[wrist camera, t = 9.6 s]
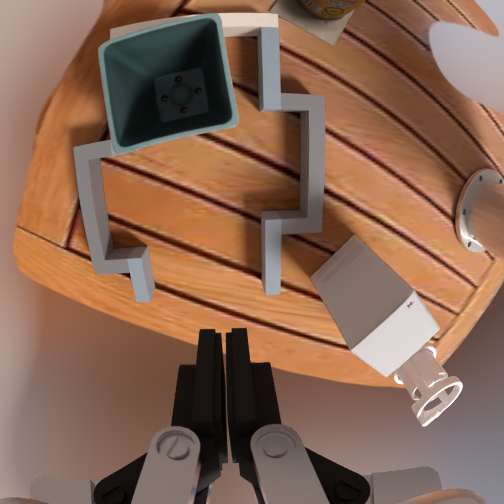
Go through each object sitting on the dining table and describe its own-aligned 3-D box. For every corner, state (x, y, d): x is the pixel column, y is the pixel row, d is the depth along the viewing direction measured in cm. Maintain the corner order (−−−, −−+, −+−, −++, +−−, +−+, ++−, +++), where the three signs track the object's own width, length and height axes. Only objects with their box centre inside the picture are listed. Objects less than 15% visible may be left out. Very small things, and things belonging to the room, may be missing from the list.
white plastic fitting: (367, 347, 39) (411, 425, 26) (399, 312, 37) (456, 384, 24) (392, 359, 41) (434, 428, 28) (421, 327, 39) (473, 392, 26)
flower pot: (130, 66, 22) (96, 43, 14) (219, 44, 22) (220, 10, 14) (145, 148, 26) (113, 156, 18) (234, 128, 26) (241, 126, 18)
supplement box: (307, 277, 33) (347, 350, 22) (354, 232, 32) (416, 287, 20) (343, 310, 36) (385, 380, 24) (385, 270, 34) (443, 329, 23)
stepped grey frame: (311, 27, 22) (321, 18, 20) (309, 277, 33) (317, 290, 30) (85, 46, 20) (73, 40, 18) (111, 289, 31) (103, 303, 29)
